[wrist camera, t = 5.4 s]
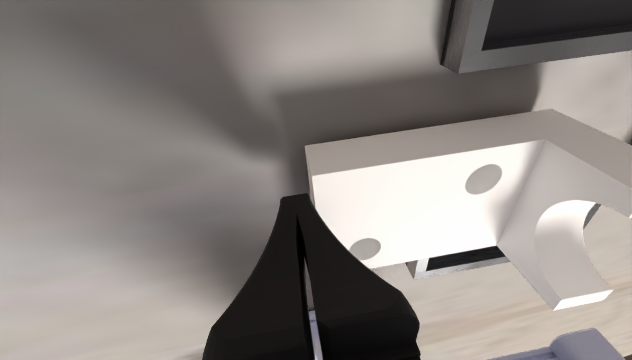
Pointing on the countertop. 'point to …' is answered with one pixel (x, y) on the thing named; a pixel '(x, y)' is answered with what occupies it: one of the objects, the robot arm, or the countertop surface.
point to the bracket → (477, 195)
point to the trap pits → (520, 49)
